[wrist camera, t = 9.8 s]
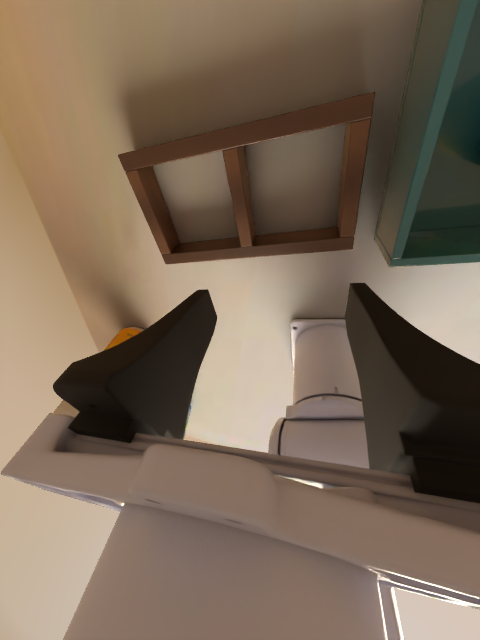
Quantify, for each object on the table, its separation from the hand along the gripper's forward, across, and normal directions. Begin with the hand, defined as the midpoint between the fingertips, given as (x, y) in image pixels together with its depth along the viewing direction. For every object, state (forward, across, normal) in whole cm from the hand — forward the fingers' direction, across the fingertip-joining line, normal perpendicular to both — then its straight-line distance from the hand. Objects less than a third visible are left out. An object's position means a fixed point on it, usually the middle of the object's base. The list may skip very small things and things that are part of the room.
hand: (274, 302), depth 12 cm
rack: (+10, +3, -3) cm, 11 cm away
